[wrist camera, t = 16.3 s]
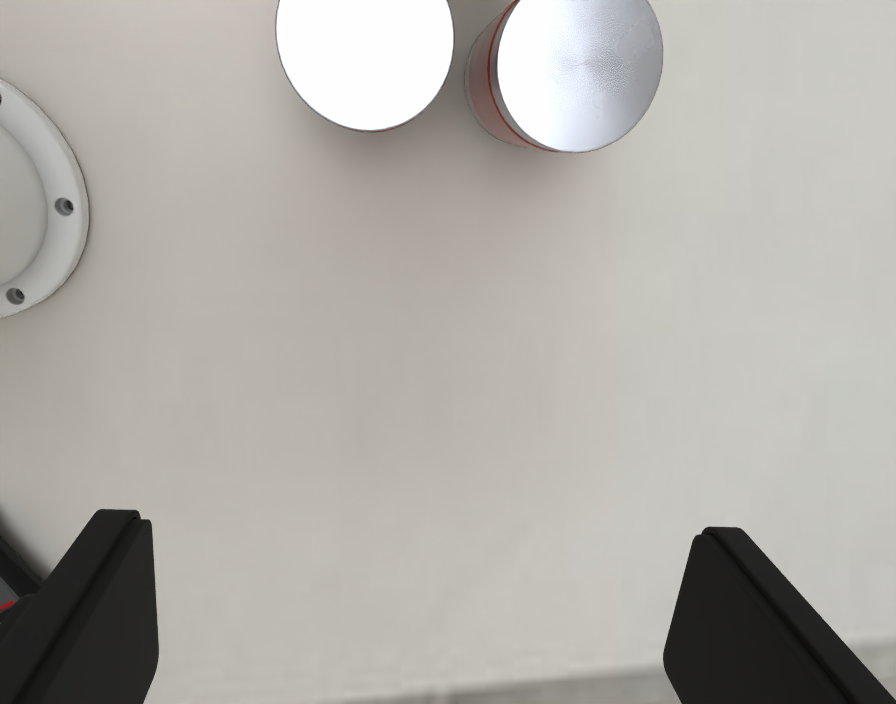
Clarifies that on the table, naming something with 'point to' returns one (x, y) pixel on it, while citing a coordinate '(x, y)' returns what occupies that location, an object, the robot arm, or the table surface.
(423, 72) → the tomato can
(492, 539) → the table surface
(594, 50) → the tomato can
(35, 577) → the electric trimmer
